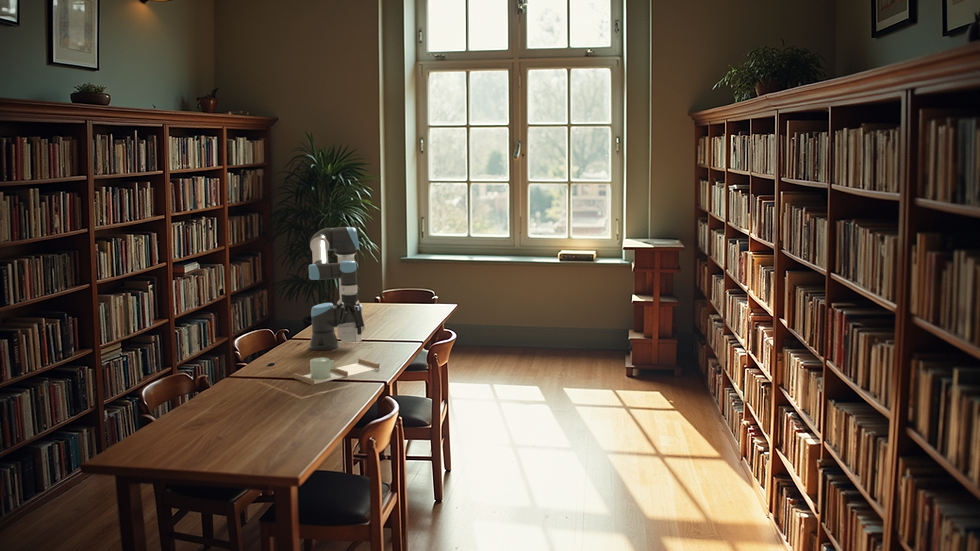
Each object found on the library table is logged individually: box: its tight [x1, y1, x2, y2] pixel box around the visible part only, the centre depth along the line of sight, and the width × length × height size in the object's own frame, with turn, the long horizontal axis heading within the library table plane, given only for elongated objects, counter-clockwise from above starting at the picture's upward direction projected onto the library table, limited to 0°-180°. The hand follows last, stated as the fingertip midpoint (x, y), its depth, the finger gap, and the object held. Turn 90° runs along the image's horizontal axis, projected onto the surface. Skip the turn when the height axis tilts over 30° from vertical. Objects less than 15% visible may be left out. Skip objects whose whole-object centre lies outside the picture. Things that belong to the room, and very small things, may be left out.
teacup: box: [336, 323, 366, 343], centre depth 396 cm, size 14×11×8 cm
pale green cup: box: [309, 357, 335, 380], centre depth 387 cm, size 9×12×8 cm
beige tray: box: [293, 358, 381, 386], centre depth 393 cm, size 16×37×3 cm, turn 134°
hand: (351, 339), depth 397 cm, fingers closed on teacup, 11 cm apart
